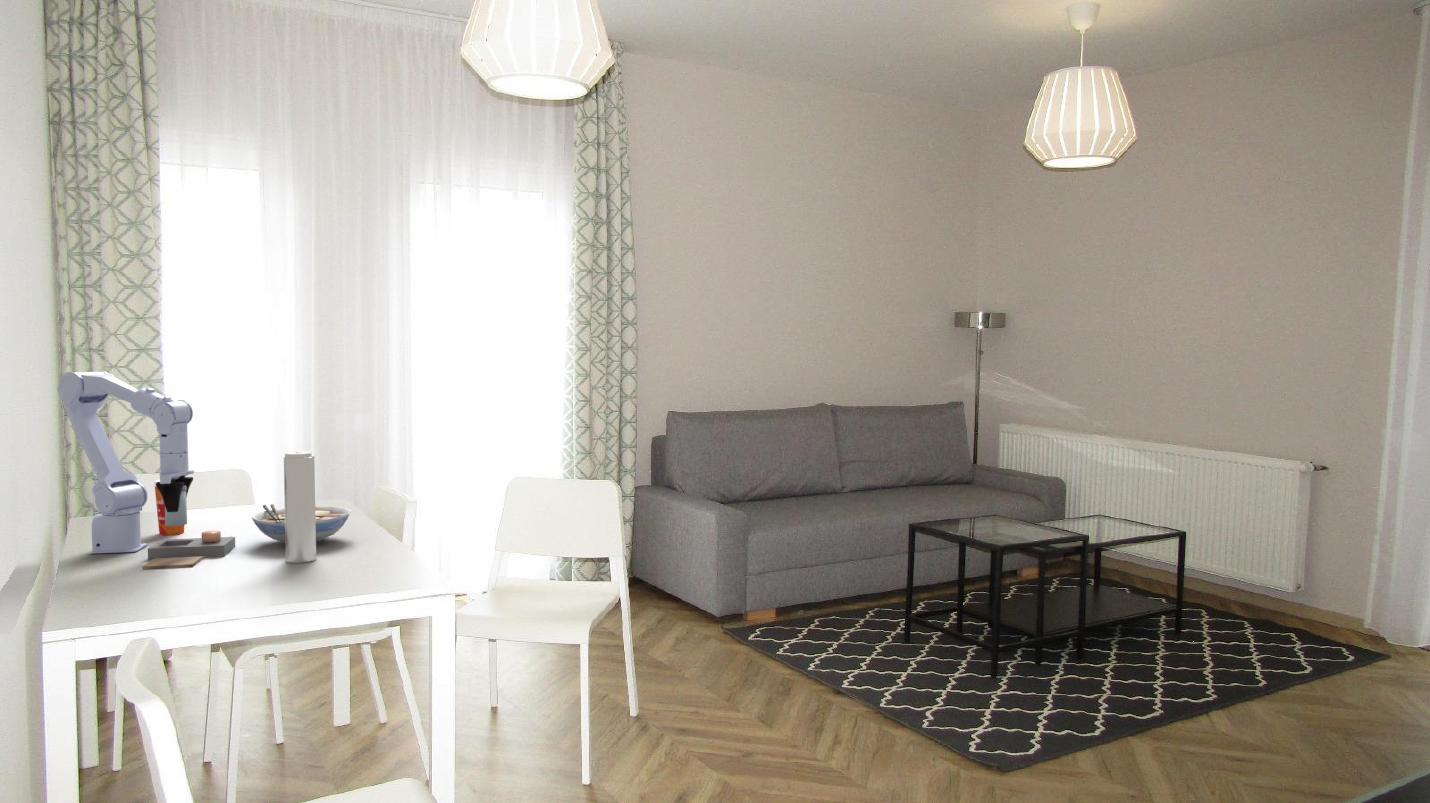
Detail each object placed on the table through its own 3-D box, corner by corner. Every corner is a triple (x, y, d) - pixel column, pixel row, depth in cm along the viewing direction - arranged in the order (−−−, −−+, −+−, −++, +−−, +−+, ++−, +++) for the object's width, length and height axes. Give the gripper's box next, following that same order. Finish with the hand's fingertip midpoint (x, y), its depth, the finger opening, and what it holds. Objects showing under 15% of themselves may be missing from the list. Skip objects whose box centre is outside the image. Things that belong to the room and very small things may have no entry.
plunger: (199, 542, 219) (199, 534, 219) (204, 539, 223) (204, 530, 223) (218, 541, 220) (218, 533, 220) (222, 538, 224) (222, 530, 224)
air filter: (304, 564, 210) (302, 454, 209) (279, 562, 212) (277, 453, 210) (322, 557, 217) (320, 451, 215) (297, 556, 218) (295, 450, 216)
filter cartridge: (162, 526, 216) (161, 488, 216) (168, 523, 221) (167, 485, 220) (184, 525, 217) (183, 487, 217) (190, 522, 222) (188, 484, 221)
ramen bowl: (359, 547, 228) (359, 514, 227) (255, 557, 216) (254, 522, 216) (344, 529, 249) (343, 499, 249) (249, 537, 238) (248, 506, 238)
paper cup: (156, 531, 245) (155, 478, 244) (189, 529, 248) (188, 477, 247) (152, 537, 237) (151, 482, 237) (187, 534, 241) (185, 481, 240)
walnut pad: (142, 569, 204) (142, 566, 204) (154, 560, 212) (154, 558, 212) (192, 566, 207) (192, 564, 207) (203, 558, 215) (203, 556, 215)
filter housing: (148, 559, 214) (147, 548, 213) (162, 549, 223) (162, 539, 223) (224, 555, 218) (224, 545, 217) (235, 546, 227) (235, 536, 227)
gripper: (183, 455, 212) (185, 514, 213) (201, 448, 226) (203, 504, 227) (148, 456, 210) (150, 515, 211) (169, 449, 224) (171, 505, 225)
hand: (175, 509), depth 219 cm, fingers closed on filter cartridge, 4 cm apart
